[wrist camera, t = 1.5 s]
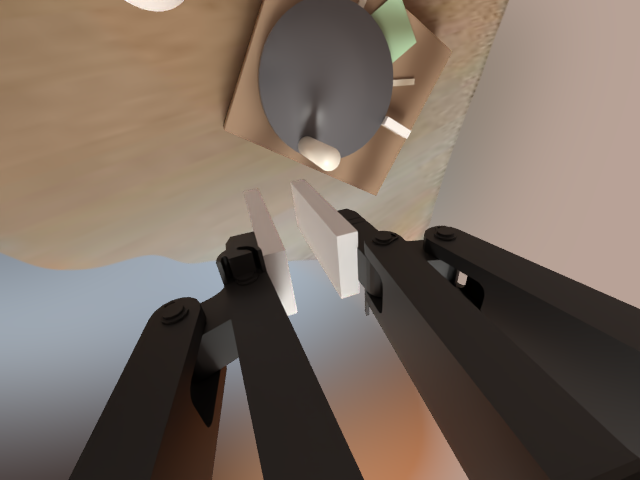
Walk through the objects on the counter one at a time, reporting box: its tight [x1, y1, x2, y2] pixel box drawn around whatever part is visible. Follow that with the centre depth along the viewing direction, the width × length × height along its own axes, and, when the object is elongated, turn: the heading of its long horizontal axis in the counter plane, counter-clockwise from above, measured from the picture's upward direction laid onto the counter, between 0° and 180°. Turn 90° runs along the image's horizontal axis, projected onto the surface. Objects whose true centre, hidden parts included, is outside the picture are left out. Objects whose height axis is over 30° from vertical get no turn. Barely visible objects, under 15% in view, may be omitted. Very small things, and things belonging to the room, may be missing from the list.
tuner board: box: [223, 0, 452, 195], centre depth 30 cm, size 20×18×4 cm
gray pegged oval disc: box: [258, 0, 411, 171], centre depth 25 cm, size 18×14×8 cm
